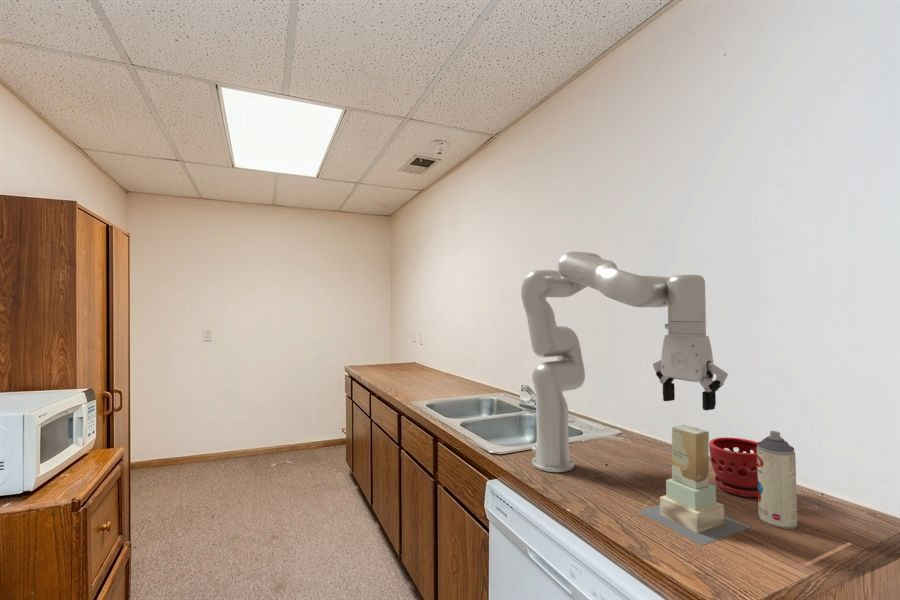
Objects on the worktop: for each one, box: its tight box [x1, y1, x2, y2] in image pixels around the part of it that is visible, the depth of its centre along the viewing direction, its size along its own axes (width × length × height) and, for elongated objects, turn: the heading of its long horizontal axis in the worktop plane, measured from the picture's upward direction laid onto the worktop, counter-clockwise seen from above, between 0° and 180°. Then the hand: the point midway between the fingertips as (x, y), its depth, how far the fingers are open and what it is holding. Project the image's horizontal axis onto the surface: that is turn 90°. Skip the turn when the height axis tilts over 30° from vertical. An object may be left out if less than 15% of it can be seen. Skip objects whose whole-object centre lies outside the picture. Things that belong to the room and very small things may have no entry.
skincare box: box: [671, 424, 710, 489], centre depth 96 cm, size 6×4×12 cm
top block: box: [665, 478, 717, 511], centre depth 95 cm, size 7×7×4 cm
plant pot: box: [709, 437, 759, 498], centre depth 111 cm, size 13×13×12 cm
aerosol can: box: [757, 430, 798, 530], centre depth 94 cm, size 7×7×20 cm
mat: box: [636, 503, 751, 546], centre depth 95 cm, size 16×16×1 cm
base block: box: [659, 494, 725, 533], centre depth 95 cm, size 9×9×4 cm
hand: (688, 404), depth 96 cm, fingers open, 9 cm apart
